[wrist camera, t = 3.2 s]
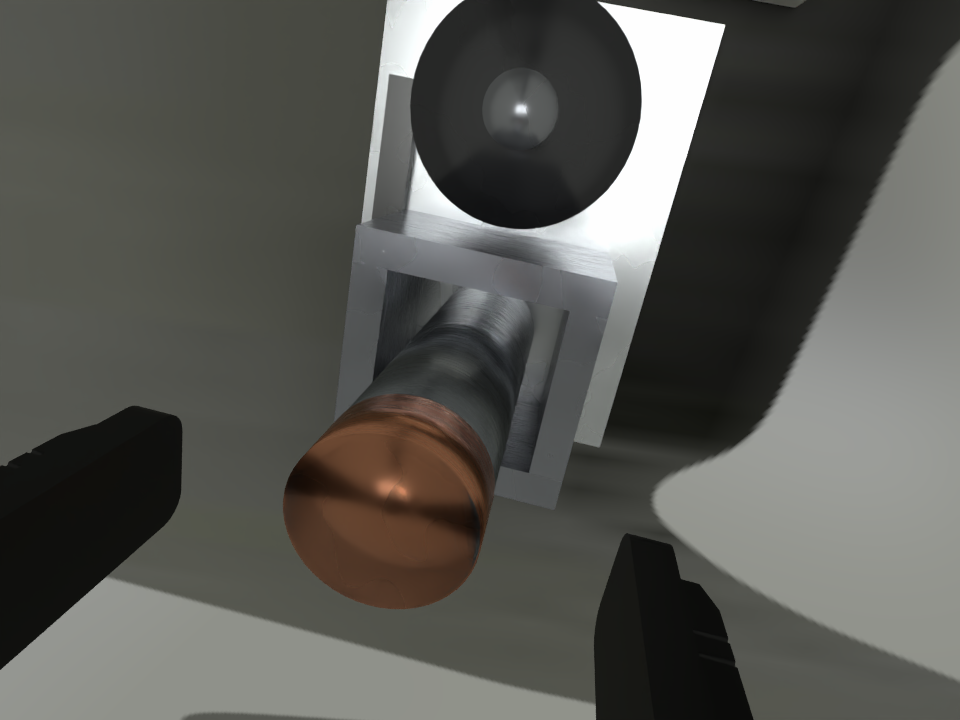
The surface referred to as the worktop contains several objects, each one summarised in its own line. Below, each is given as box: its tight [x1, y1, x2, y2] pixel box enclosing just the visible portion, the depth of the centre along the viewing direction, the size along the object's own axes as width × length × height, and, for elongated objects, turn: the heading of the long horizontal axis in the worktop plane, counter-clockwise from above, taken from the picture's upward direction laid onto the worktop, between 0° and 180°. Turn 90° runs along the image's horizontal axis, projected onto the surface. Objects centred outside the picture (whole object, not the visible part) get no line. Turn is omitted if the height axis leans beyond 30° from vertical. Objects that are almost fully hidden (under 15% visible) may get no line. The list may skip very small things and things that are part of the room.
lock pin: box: [283, 287, 534, 609], centre depth 16 cm, size 3×3×12 cm
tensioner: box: [334, 0, 725, 510], centre depth 18 cm, size 14×10×6 cm
